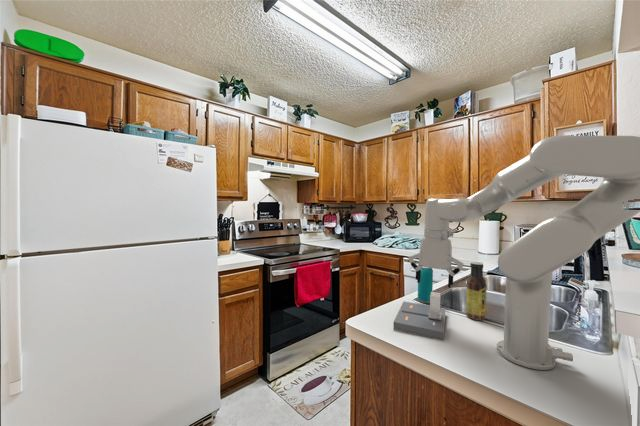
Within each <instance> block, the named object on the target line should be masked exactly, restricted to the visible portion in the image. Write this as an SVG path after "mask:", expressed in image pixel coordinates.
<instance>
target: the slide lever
mask: <svg viewBox="0 0 640 426" xmlns="http://www.w3.org/2000/svg"><path fill="white" fill-rule="evenodd" d="M429 306H430V311H429V314H428V318H432V319H437V320H441V316H442V313H440V308H441V292H436V291H432V292H431V295H430V303H429Z"/></svg>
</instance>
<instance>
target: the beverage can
mask: <svg viewBox="0 0 640 426" xmlns="http://www.w3.org/2000/svg"><path fill="white" fill-rule="evenodd" d="M420 270H421V279H420V283H417V298H418V301H419V302H420V303H423V304H430V295H431V292H433V283H434V282H433V281H434V270H433V268H428V267H422V268H421V269H420Z"/></svg>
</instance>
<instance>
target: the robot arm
mask: <svg viewBox="0 0 640 426" xmlns="http://www.w3.org/2000/svg"><path fill="white" fill-rule="evenodd" d="M564 175H569V176H570V175H571V176H572V175H573V176H579V177H580V176H583V177H592V178H593V177H595V178H603V179H602V182H601V184H599V186H598V187H597V188H596V189H594V190H593V191H591V192H590V193H588V194H587V195H586V196H584V197H582V199H580V200H579V201H578V202H576V203H574V204H573V205H572V206H570V207H569V208H567V209H566V210H565V211H562V212H561V213H559V214H556V215H553V216H550V217H548V218H546V219H544V220H543V221H541V222H540V223H538V224H537V225H536V226H535V227H533V228H532V229H530V230H528V231H527V232H526V233H524V234H523V235H522V236H520V237H519V238H517V239H516V240H514V241H513V242H512V243H510V244H509V245H508V246H506V247H504V249H503V250H501V252H499V255H498V257H497V258H498V259H497V266H498V269H499V271H500V273H501V274H502V276H504V277H505V278H506V279H505V292H504V293H505V295H504V320H503V321H504V322H503V325H504V326H503V340H500V341H498V342H497V343H496V351H498V353H499V354H500V356H502V357H503V358H505V359H507V360H508V361H509V362H512V363H514V364H516V365H519V366H522V367H525V368H529V369H532V370H540V371H549V370H552V369H554V368H555V367H556V364H557V363H556V360H557V359H559V360H560V359H561V360H563V361H568V362H573V361H574V356H573V354H572V353H571V352H566V351H563V348H561V347H556V346H555V347H554V346H552V345H550V343H549V338H550V337H549V336H550V335H549V333H550V315H551V314H550V309H551V308H550V307H551V294H552V293H551V292H552V280H553V272H556V270H558V269H560V268H562V267H564V266H565V265H567V264H568V263H570V262H572V261H574V260H576V259H577V258H579V257H580V256H582V255H584V254H585V253H586V252H587V251H589V250H590V249H591V248H592V247H593V245H594V244H595V242H596V241H598V240H599V239H600V238H602V237H604V236H605V235H607V234H608V233H610V232H611V231H613V230H615V229H616V228H618V227H620V226H621V225H623V224H624V223H626V222H627V221H629V220H630V219H632V218H633V217H634V216H635V217H636V215H637V214H639V213H640V210H628V209H627V210H624V209H622V205H623V202H624V207H626V208H629V205H630V202H628V200H634V199H640V136H638V135H636V136H635V135H554V136H553V135H552V136H549V137H545V138H543V139H542V140H539V141H538V142H537V143H535V144H534V145H533V146H532V148H531V149H530V152H529V154H527V155H526V156H524V157H522V158H521V159H519V160H518V161H516V162H514V163H511V165H509V166H508V167H505V168H504V169H502V170H501V171H499V172H497V174H496V175H495V176H494V178H493V179H492V180H491V182H490V183H489V184H488V185H487V186H485V188H482V189H481V190H479V191H478V192H476V193H475V194H473V195H470V196H469V197H467V198H465V197H462V198H461V197H460V198H459V197H457V198H450V199H447V198H436V197H435V198H428V199H427V200H426V201H425V211H424V230H423V231H424V235H423V236H422V237H421V240H420V241H421V242H420V247H419V253H416V254H413V255H409V256H408V258H407V259H408V261H409V264H410V266H411V267H412V268H413V269H414V270H415V280H417V281H416V283H417V284H418V283H420V279H421V270H420V269H421V268H422V267H428V268H432V269H437V270H444V271H446V272H448V277H447V278H448V284H447V288H449V289H451V286H453V285H454V277H455V275H457V274H458V273H460V272H461V270H462V269H463V267H464V265H465V264H464V263H463V262H462V261H460V260H458V259H457V258H455V257H453V256H452V255H453V253H452V252H453V251H452V249H453V248H452V240H451V239H449V238H452V237H454V232H452V231H451V232H450V230H449V229H450V222H453V223H466V222H471V221H475V220H478V219H480V218H482V217H484V216H486V215H488V214H491V213H492V212H494V211H496V210H497V209H499V208H501V207H503V206H505V205H506V204H509V203H511V202H513V201H515V200H516V199H518V198H521V197H522V196H524V195H526V194H528V193H530V192H531V191H533V190H535V189H538V188H540V187H542V186H543V185H545V184H547V183H549V182H551V181H554V180H555V179H558V178H559V177H561V176H564ZM417 259H418V265H417V263H416V262H415V260H417ZM452 263H453V264H455V265H457V266H456V268H454V269H453V268H452Z"/></svg>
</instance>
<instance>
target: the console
mask: <svg viewBox="0 0 640 426" xmlns="http://www.w3.org/2000/svg"><path fill="white" fill-rule="evenodd" d="M429 311H430V305H427V304H421V303H415V302H410V301H402V303H401V306H400V308H399V310H398V312H397V314H396V316H395V318H394V320H393V330H395V331H399V332H403V333H408V334H413V335H419V336H423V337H427V338H432V339H436V340H441V341H444V340H445V339H444V338H445V325H446V324H445V323H446V308H444V307H440V313H442V316H441V320H437V319H432V318H428V314H429Z"/></svg>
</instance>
